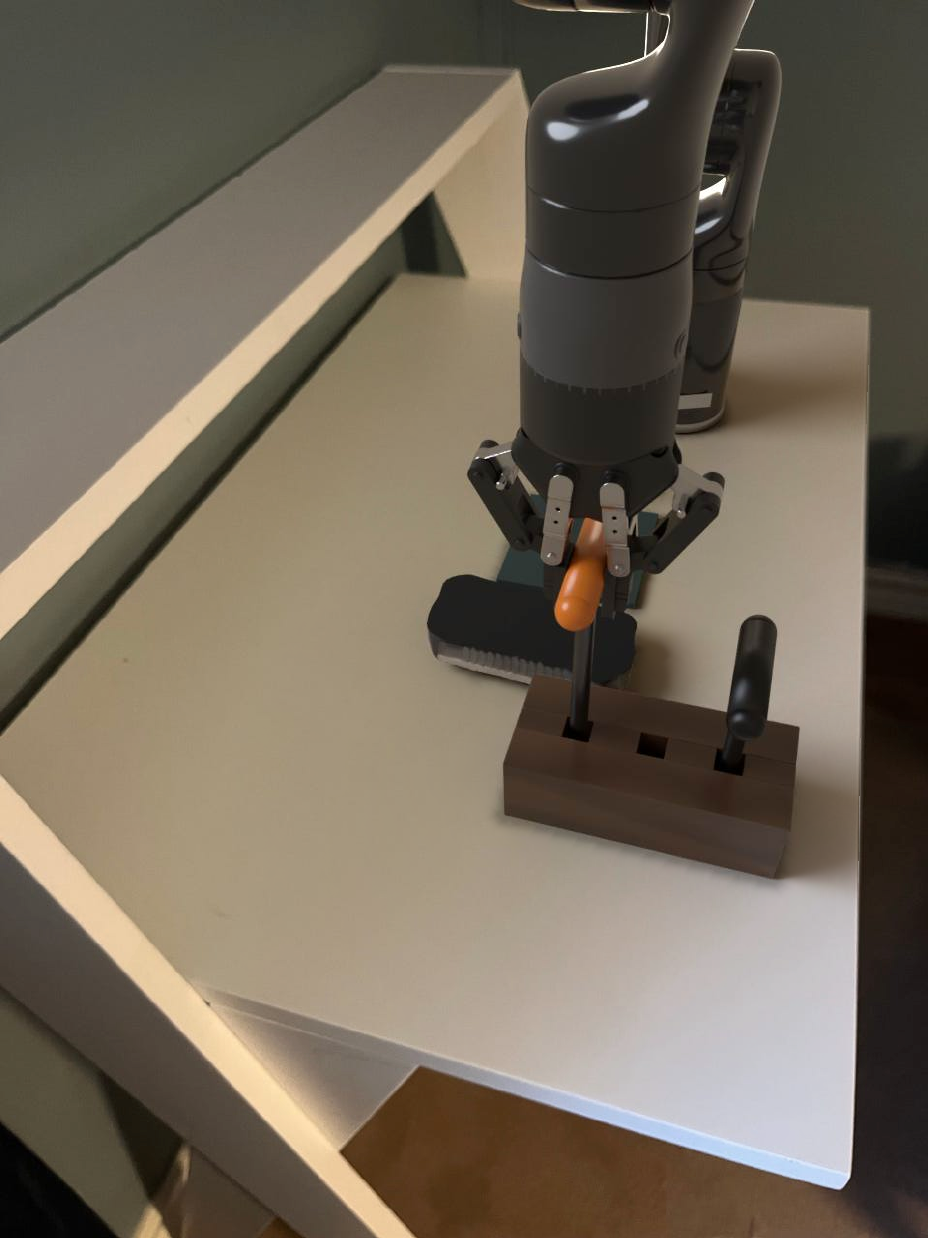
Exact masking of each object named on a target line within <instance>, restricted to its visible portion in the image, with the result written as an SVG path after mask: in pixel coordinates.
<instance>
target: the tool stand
mask: <svg viewBox="0 0 928 1238" xmlns="http://www.w3.org/2000/svg"><path fill="white" fill-rule="evenodd" d="M571 689H572V680H567V679H562V678H557V677H552V676H547V675H542V674H537V673H534V674H533V677H532V680H531V683H530V684H529V685H528V689H527V691H526V696H525V698H524V701H523V704H522V707H521V710H520V713H519V716H518V719H517V722H516V724H515V727H514V731H513V733H512V736H511V739H510V742H509V745H508V747H507V751H506V754H505V756H504V759H503V762H502V782H503V783H502V784H503V785H502V786H503V814H504V816H505V815H506V816H509V817H514V818H518V819H523V820H527V821H531V822H535V823H539V824H543V825H547V826H551V827H554V828H558V829H564V830H566V831H567V830H568V831H572V832H576V833H581V834H585V835H588V836H592V837H597V838H600V839H601V838H602V839H605V840H609V841H613V842H618V843H622V844H626V845H630V846H635V847H638V848H643V849H645V850H646V849H647V850H651V851H655V852H659V853H664V854H668V855H671V856H675V857H680V858H685V859H689V860H692V861H697V862H701V863H705V864H710V865H713V866H718V867H722V868H726V869H730V870H734V871H739V872H742V873H747V874H749V875H750V874H751V875H755V876H758V877H759V876H760V877H763V878H767V879H774V877H775V873H776V872H777V868H778V865H779V863H780V860H781V858H782V854H783V852H784V850H785V847H786V844H787V841H788V839H789V835H790V832H791V829H792V822H793V821H792V819H793V808H794V798H795V797H794V796H795V786H796V777H797V776H796V774H797V764H798V763H797V762H798V754H799V753H798V752H799V743H800V731H801V728H800V726H797V725H793V724H787V723H783V722H780V721H779V722H778V721H775V720H774V721H773V720H769V719H767V725H766V729H765V731H764V732H763V734H762V735H761V736H760V737H759V738H757V739H755V740H752V741H746V742H745V745H744V749H743V753H742V756H741V760H740V764H739V767H738V771H737V775H734V774H729V773H725V772H720V771H718V768H719V764H720V760H721V756H722V752H723V748H724V744H725V740H726V736H727V732H728V729H727V726H726V714H727V711H724V710H719V709H715V708H710V707H705V706H700V705H695V704H689V703H684V702H680V701H675V700H671V699H664V698H660V697H654V696H650V695H646V694H639V693H636V692H635V693H634V692H630V691H625V690H616V689H611V688H606V687H601V686H596V685H591V688H590V701H589V714H588V726H587V729H586V730H585V731H584V732H580V733H577V732H574V731H573V730H572V729H571V728H570V707H571Z"/></svg>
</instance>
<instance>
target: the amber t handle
mask: <svg viewBox="0 0 928 1238" xmlns="http://www.w3.org/2000/svg"><path fill="white" fill-rule="evenodd" d="M607 564H608V563H607V546H605V545H604V533H603V523H601V522H598V521H595V520H592V519H590V518H585V520H584V522H583V525H582V528H581V531H580V534H579V537H578V540H577V543H576V546H575V549H574V552H573V555H572V558H571V560H570V563H569V566H568V569H567V572H566V575H565V578H564V581H563V584H562V587H561V590H560V593H559V595H558V598H557V601H556V604H555V609H554V612H555V617H556V620H557V622H558V623H559V624H560V625H561V626H562V627H563V628H564V629H566V630H569V631H575V633H574V652H573V670H572V689H571V707H570V728H571V729H572V730H573V731H574V732H577V733H580V732H584V731H585V730H586V729H587V726H588V714H589V701H590V688H591V675H592V661H593V648H594V635H595V622H596V611H597V608H598V606H599V604H600V603H599V601H600V598H601V594H602V591H603V588H604V574H605V570H606V567H607Z"/></svg>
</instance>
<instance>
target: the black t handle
mask: <svg viewBox="0 0 928 1238" xmlns="http://www.w3.org/2000/svg"><path fill="white" fill-rule="evenodd" d="M777 639H778V628H777V625H776V623H775V622H774V620H773V619H772V618H771V617H768V616H766V615H764V614H753V615H751V616H748V617H746V618H745V619H744V620H743V621H742V623H741V624H740V627H739V632H738V638H737V645H736V651H735V656H734V657H735V658H734V663H733V669H732V676H731V683H730V689H729V696H728V703H727V708H726V712H727V714H726V726H727V729H728V732H727V736H726V740H725V744H724V748H723V752H722V756H721V760H720V764H719V768H718V771H720V772H725V773H729V774H734V775H737V771H738V767H739V764H740V760H741V756H742V753H743V749H744V745H745V742H746V741H752V740H755V739H757V738H759V737H760V736H761V735H762V734H763V732H764V731H765V729H766V725H767V720H768V718H769V717H768V715H769V709H770V708H769V707H770V699H771V691H772V681H773V673H774V667H775V666H774V665H775V657H776V651H777V650H776V649H777V643H778V642H777Z"/></svg>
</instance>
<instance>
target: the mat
mask: <svg viewBox="0 0 928 1238" xmlns="http://www.w3.org/2000/svg"><path fill="white" fill-rule="evenodd" d="M530 497H531V499H532V501H533V502H534V504H535V506H536V507H537V509H538V511H539V512H540V514H541V518H543V519H545V514H546V507H547V504H546V502H545V501H544V500H543V499H542V497H541V496H540V495H539V494H534V493H531V494H530ZM584 520H585V518H574V522H573V528H572V533H571V542H575V546H576V543H577V540H578V537H579V534H580V531H581V528H582V525H583V522H584ZM658 522H659V513H657V512H651V511H650V512H649V511H643V510H642V511H640V512H639V513H638V536H642V535H650V532H651V531H652V530H653V529H654V528H655V527H656V526H657V525H658ZM543 570H544V562H543V560H542V559H541V556H540V554H538V553H537V552H535V551H533V550H531V549H529V550H527V551H525V552H519V551H516V550H514V549H513V548H512V547H511V546H510V545H509V546H508V549H507V552H506V555H505V557H504V559H503V562H502V564H501V566H500V568H499V571H498V574H497V576H496V578H495V579H496V580H495V582H499V583H504V584H508V585H513V586H517V587H521V588H525V589H529V590H534V591H538V592H542V593H543V580H544V579H543ZM644 573H645V570H644V569H641V570H637V571H635V572H634V574H633V583H632V591H631V595H630V599H629V603H628V606H627V608H626V609H632V610H634V609H635V608H636V604H637V601H638V596H639V593H640V590H641V586H642V581H643V578H644ZM602 596H603V591H602V594H601V598H600V601H599V604H602Z"/></svg>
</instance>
